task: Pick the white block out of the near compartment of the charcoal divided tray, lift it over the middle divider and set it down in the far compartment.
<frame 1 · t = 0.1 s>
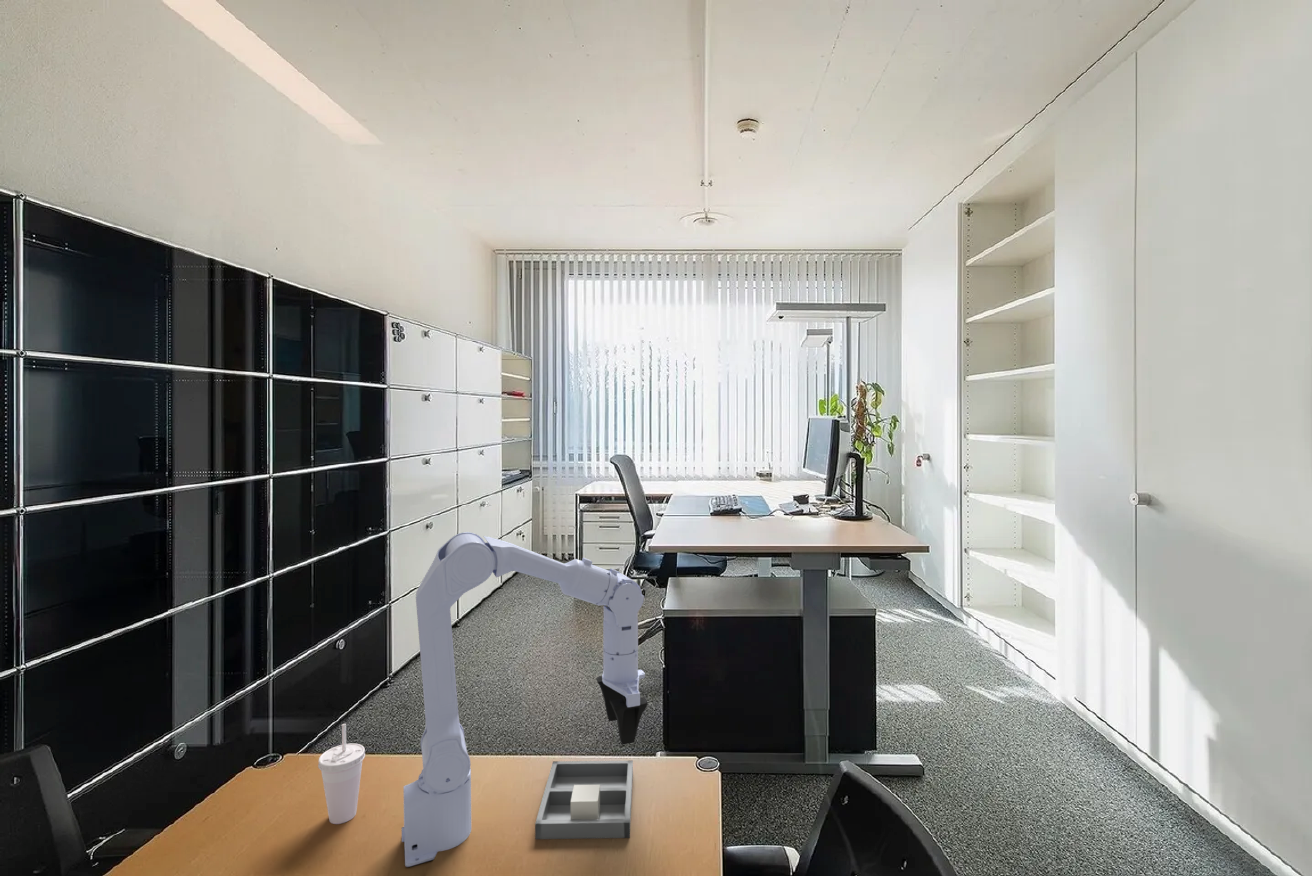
hand: (620, 730, 96), 10 cm above the table, tool pointing down, fingers open, 7 cm apart
smoothie: (342, 817, 90), on the table
divided tray: (588, 808, 91), on the table
white block: (585, 819, 88), point 1 cm above the table, touching divided tray
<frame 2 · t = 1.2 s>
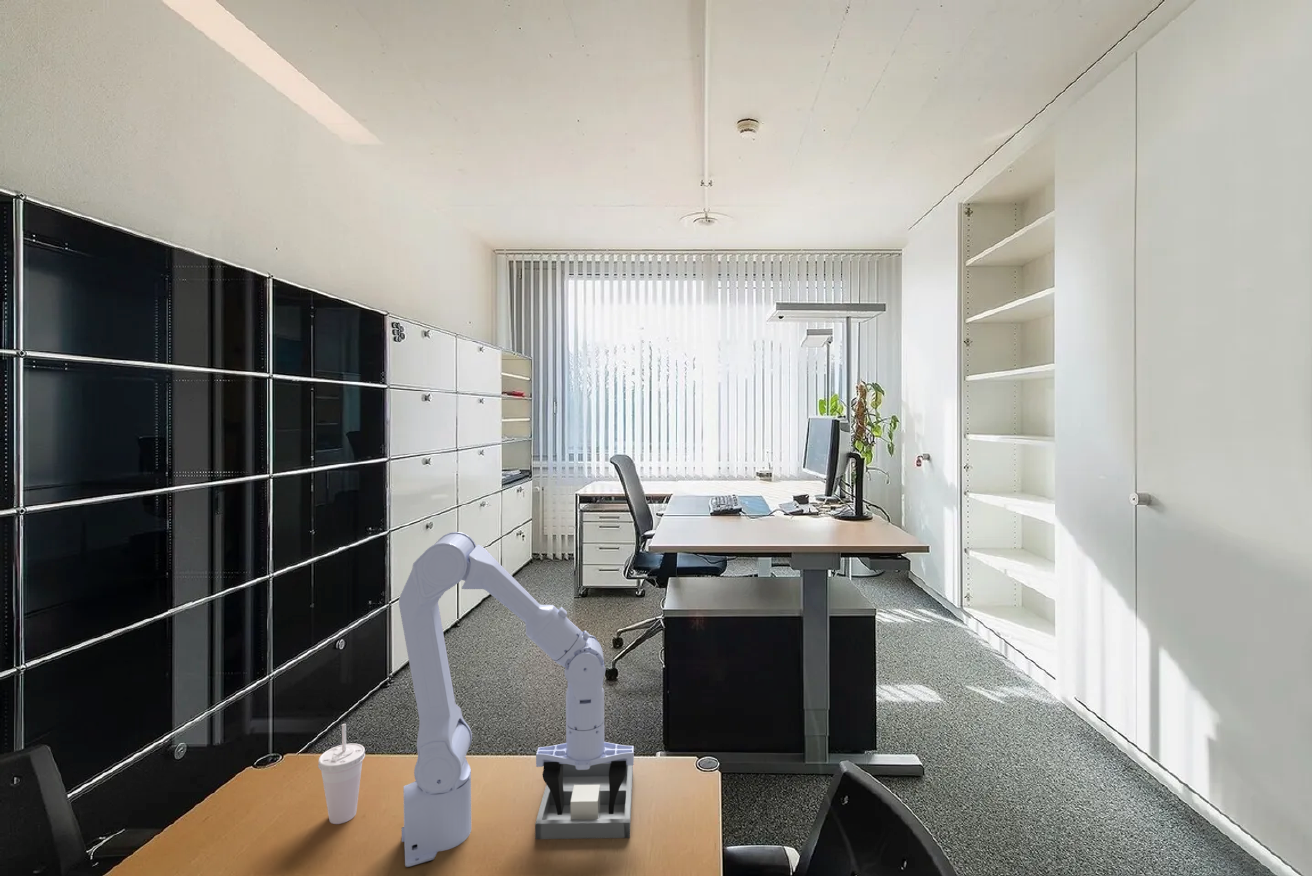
hand: (586, 810, 88), 2 cm above the table, tool pointing down, fingers open, 7 cm apart
nothing on the table moved.
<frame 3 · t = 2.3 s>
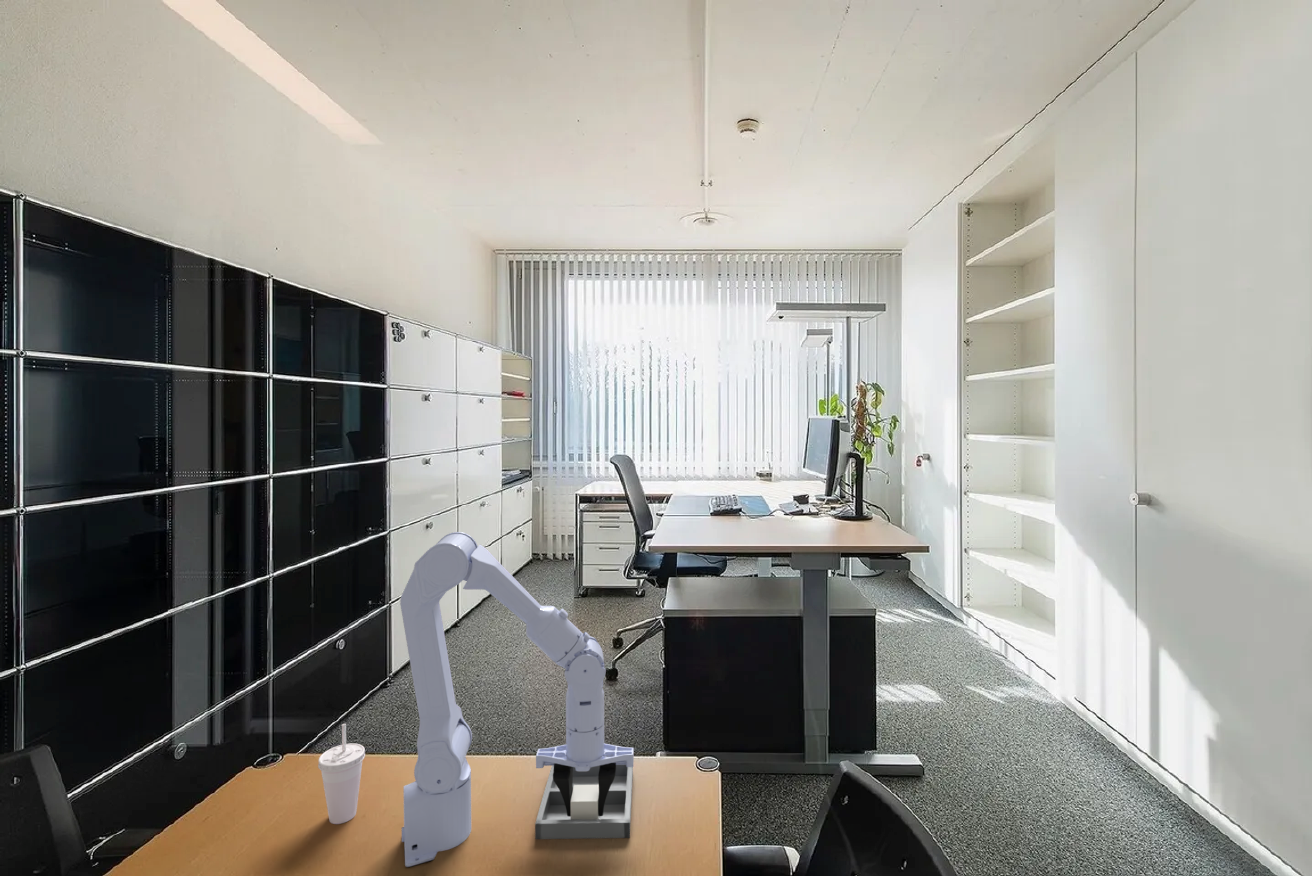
hand: (585, 812, 88), 2 cm above the table, tool pointing down, fingers closed on white block, 4 cm apart
white block: (585, 819, 88), point 1 cm above the table, touching divided tray, gripper
everything else where it was.
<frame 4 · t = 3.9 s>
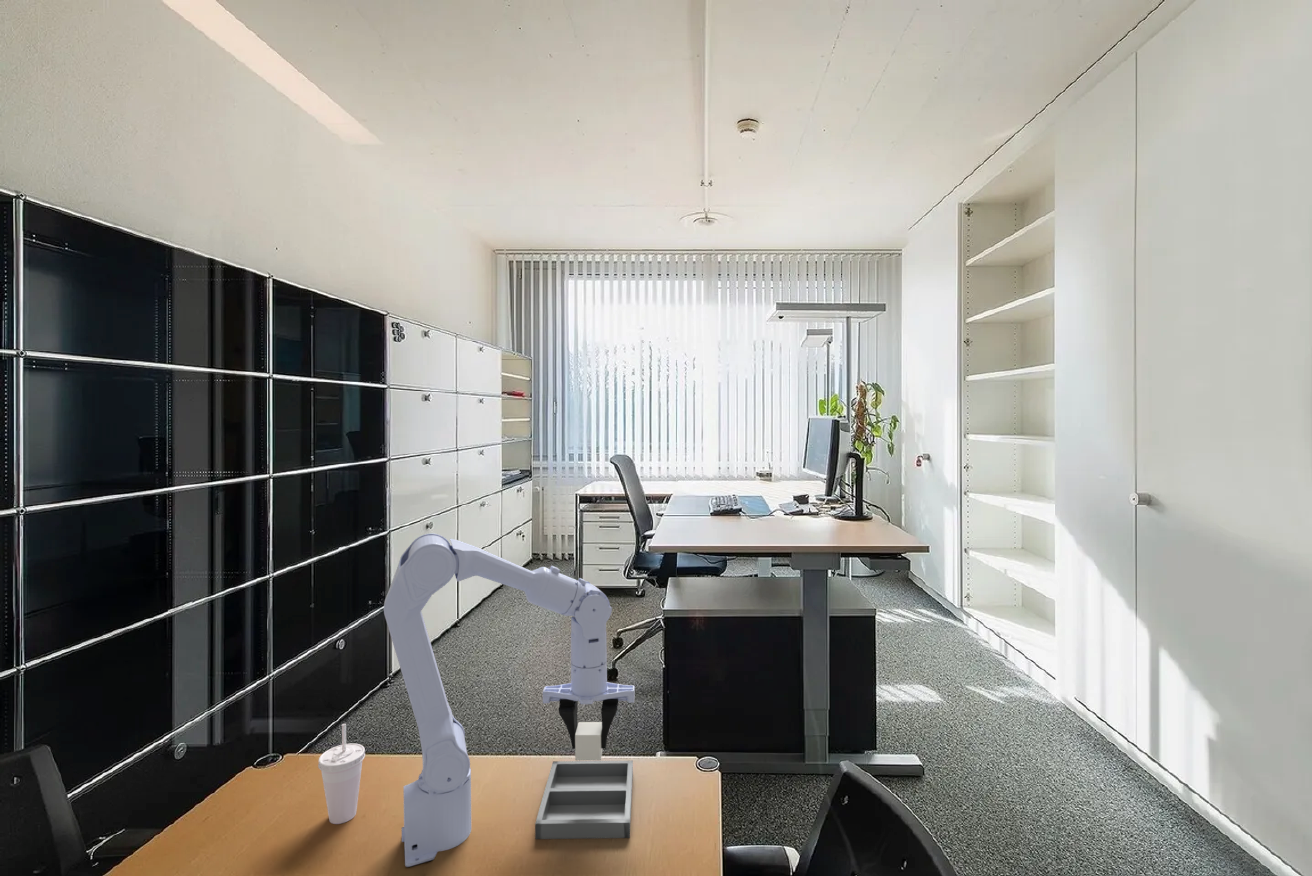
hand: (589, 745, 93), 9 cm above the table, tool pointing down, fingers closed on white block, 4 cm apart
white block: (589, 753, 93), point 8 cm above the table, touching gripper
everything else where it was.
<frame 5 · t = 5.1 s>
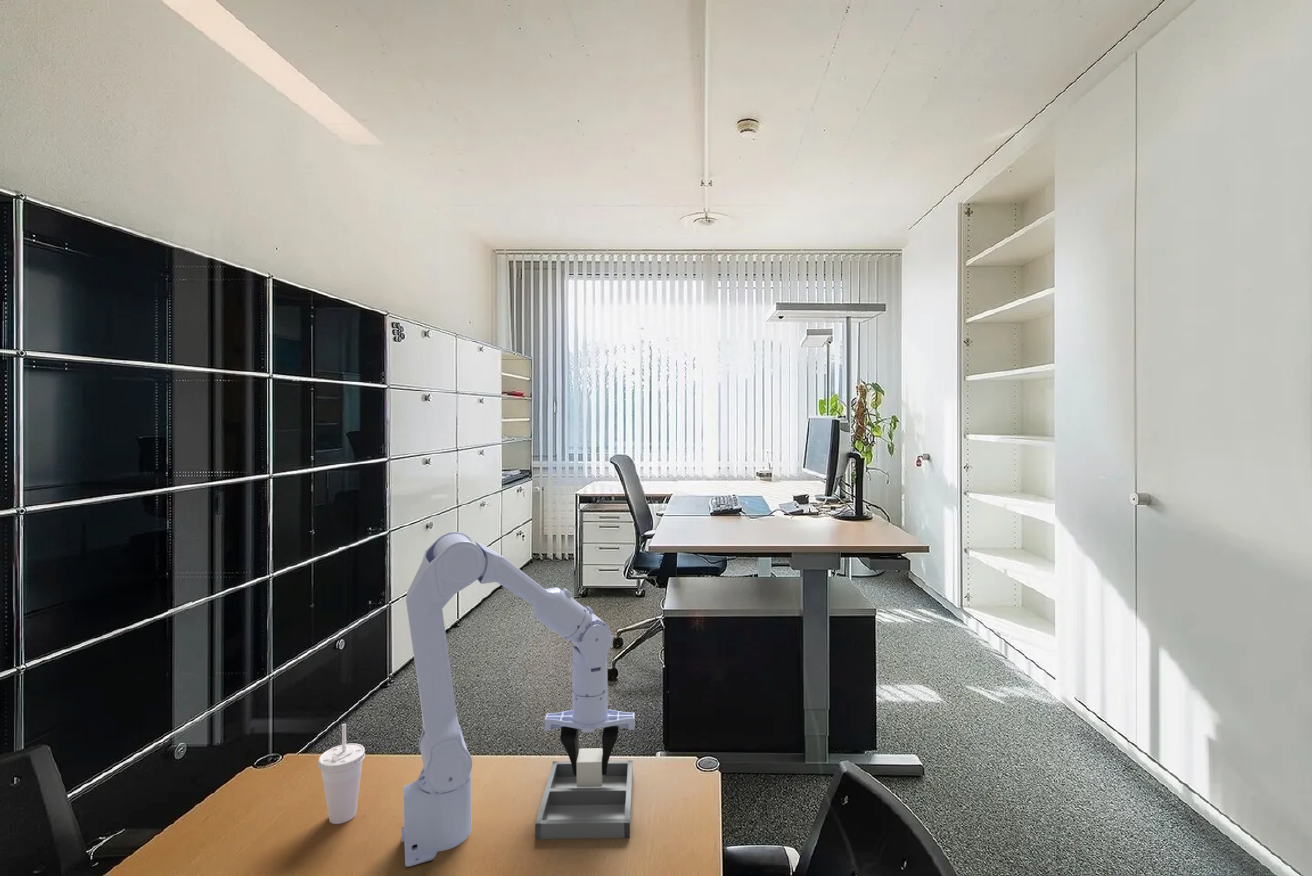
hand: (590, 771, 95), 4 cm above the table, tool pointing down, fingers closed on white block, 4 cm apart
white block: (590, 779, 95), point 2 cm above the table, touching gripper
everything else where it was.
when the fingers open (4 cm above the table, at t = 5.8 s): white block drops 2 cm, resting on divided tray.
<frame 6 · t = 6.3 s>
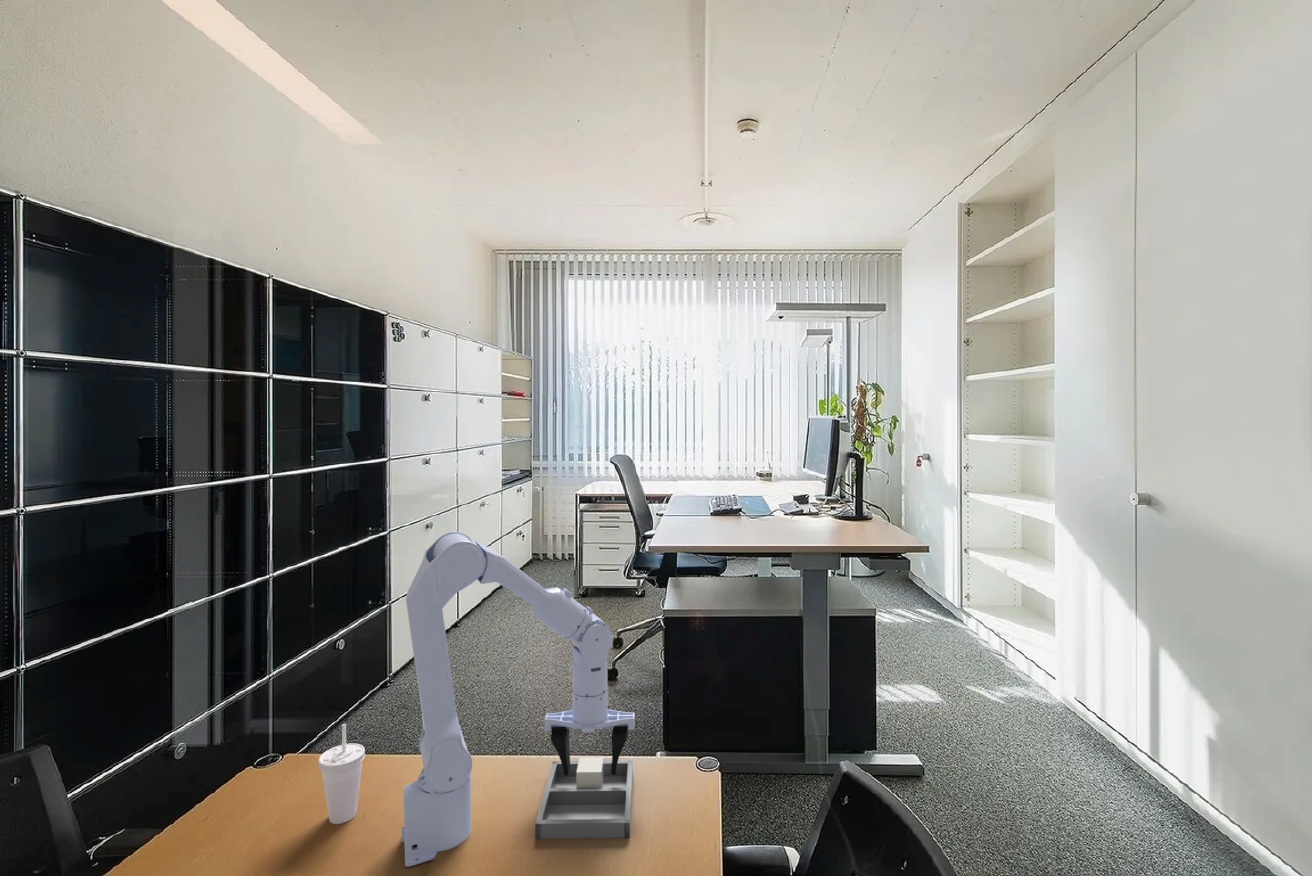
hand: (590, 771, 95), 4 cm above the table, tool pointing down, fingers open, 7 cm apart
white block: (590, 789, 95), point 1 cm above the table, touching divided tray
everything else where it was.
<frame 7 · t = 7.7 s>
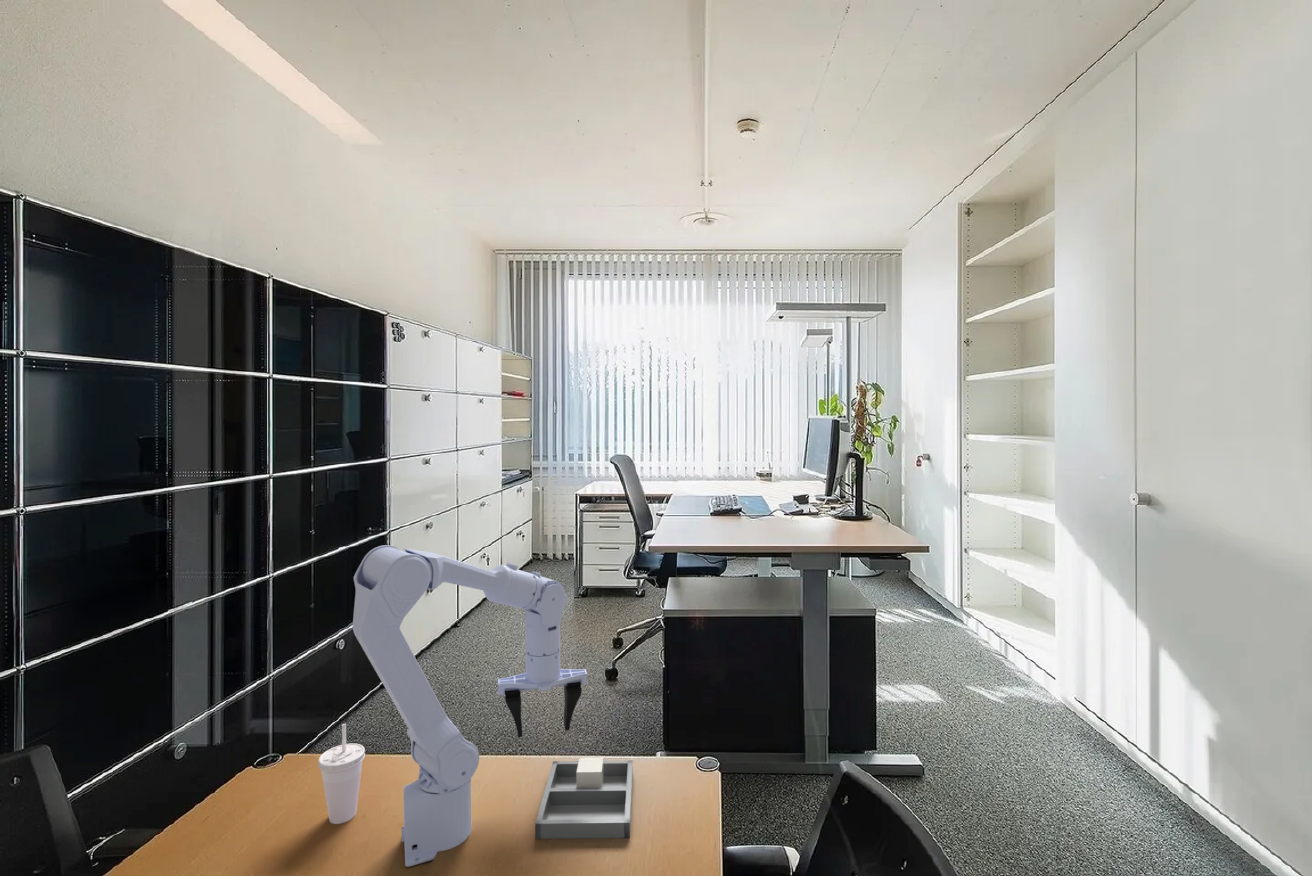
hand: (543, 731, 97), 9 cm above the table, tool pointing down, fingers open, 7 cm apart
nothing on the table moved.
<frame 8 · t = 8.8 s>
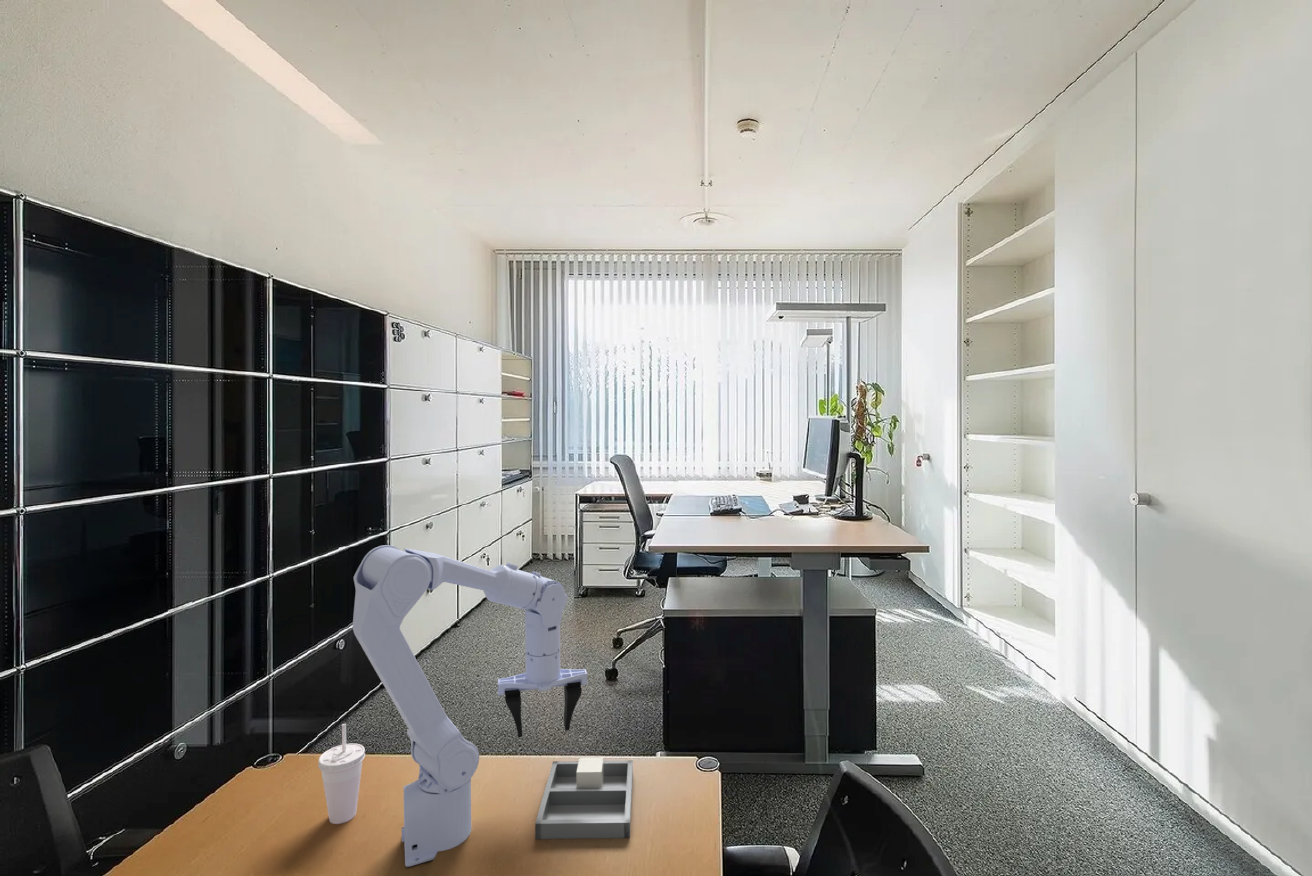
hand: (543, 731, 97), 9 cm above the table, tool pointing down, fingers open, 7 cm apart
nothing on the table moved.
at the end: white block inside the target area on the divided tray (0.5 cm from its centre), point 0.8 cm above the divided tray's base; white block tilted 0°; the gripper is holding nothing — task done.
